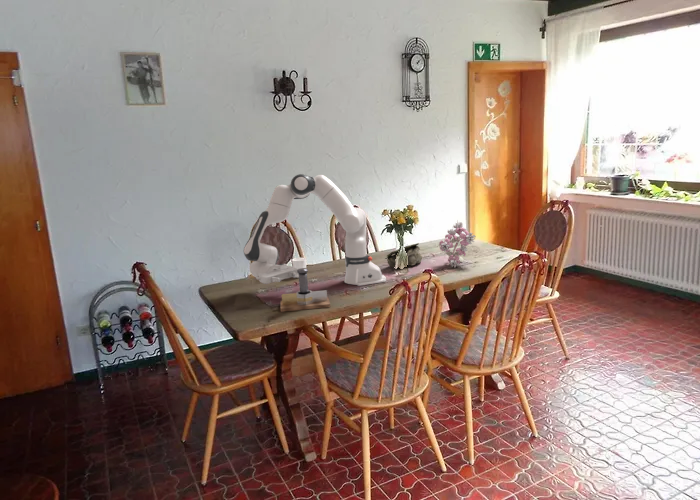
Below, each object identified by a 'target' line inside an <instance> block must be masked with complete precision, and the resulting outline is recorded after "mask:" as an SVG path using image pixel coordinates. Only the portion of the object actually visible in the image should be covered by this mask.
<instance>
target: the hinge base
mask: <svg viewBox="0 0 700 500" xmlns="http://www.w3.org/2000/svg"><path fill="white" fill-rule="evenodd" d="M322 308H331V302H330V298H329V297H328V296H327V301H319V302H313V303H312V304H308V305H298V304H287V305H282V300H280V312H283V313H284V312H292V311H303V310H312V309H322Z"/></svg>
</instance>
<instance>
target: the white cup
mask: <svg viewBox="0 0 700 500" xmlns="http://www.w3.org/2000/svg"><path fill="white" fill-rule="evenodd" d="M291 262H292V267H295V268H297V269H300V268H307V258H306V257H295V258H292V260H291ZM295 278H297V279H299V275H297V277H295Z"/></svg>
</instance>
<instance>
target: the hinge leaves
mask: <svg viewBox="0 0 700 500" xmlns="http://www.w3.org/2000/svg"><path fill="white" fill-rule="evenodd" d="M327 291H328V290H327V289H326V290H315V291H314V290H313V291H312V290H309V289H308V292H309V293H308V294H305V295H304V294H300V290H297V291H296V292H293V293H283V294H281V301H282V305H287V304H298V305H308V304H312V303H313V302H319V301H327V297H328V294H327V293H328V292H327Z"/></svg>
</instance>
